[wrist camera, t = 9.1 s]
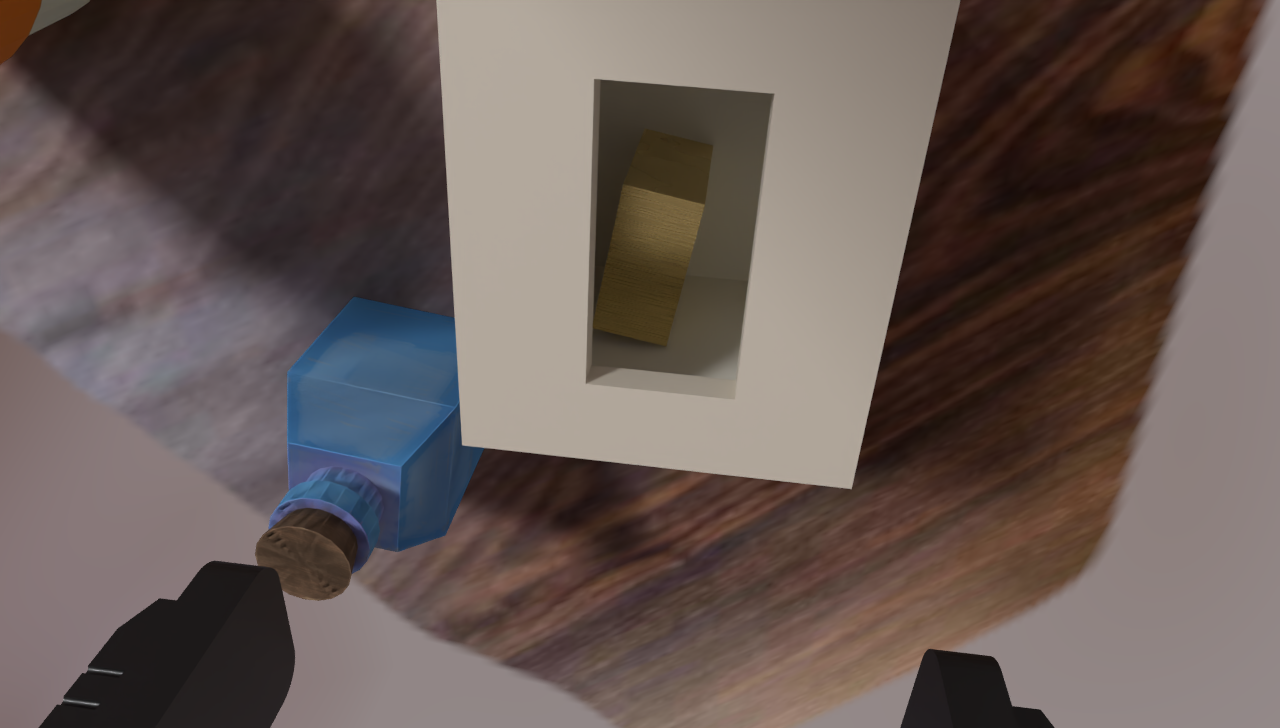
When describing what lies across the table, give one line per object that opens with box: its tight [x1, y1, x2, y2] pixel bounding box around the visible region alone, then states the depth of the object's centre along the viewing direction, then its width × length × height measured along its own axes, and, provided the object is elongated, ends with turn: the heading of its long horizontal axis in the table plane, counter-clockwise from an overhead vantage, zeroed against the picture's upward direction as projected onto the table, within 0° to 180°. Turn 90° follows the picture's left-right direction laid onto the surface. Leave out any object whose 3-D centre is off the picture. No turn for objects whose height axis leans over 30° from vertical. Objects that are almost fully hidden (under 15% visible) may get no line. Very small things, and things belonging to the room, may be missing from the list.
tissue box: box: [437, 0, 960, 489], centre depth 27 cm, size 13×11×12 cm
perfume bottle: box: [255, 297, 484, 601], centre depth 34 cm, size 6×6×12 cm
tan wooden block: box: [593, 129, 713, 346], centre depth 30 cm, size 6×2×5 cm
